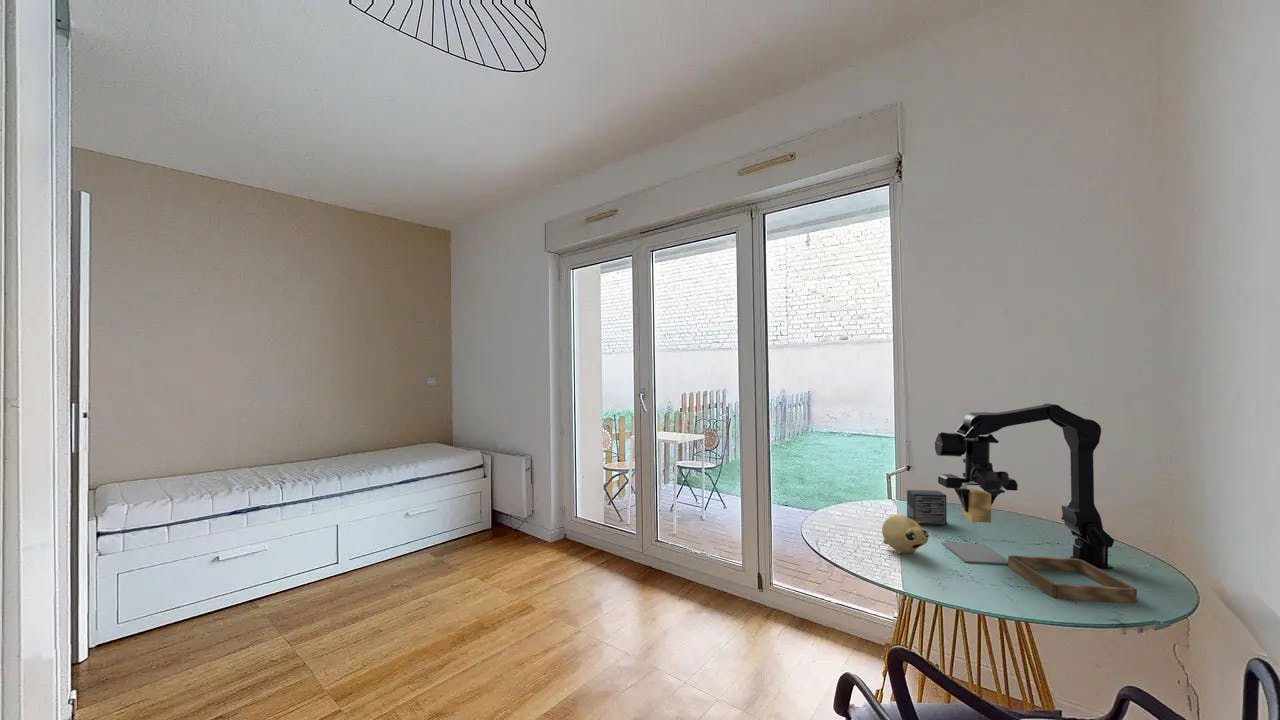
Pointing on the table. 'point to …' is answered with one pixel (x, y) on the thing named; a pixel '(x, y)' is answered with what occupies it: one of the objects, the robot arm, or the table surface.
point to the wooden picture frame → (1111, 592)
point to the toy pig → (903, 534)
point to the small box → (927, 507)
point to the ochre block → (978, 506)
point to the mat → (975, 553)
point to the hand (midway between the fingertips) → (976, 512)
